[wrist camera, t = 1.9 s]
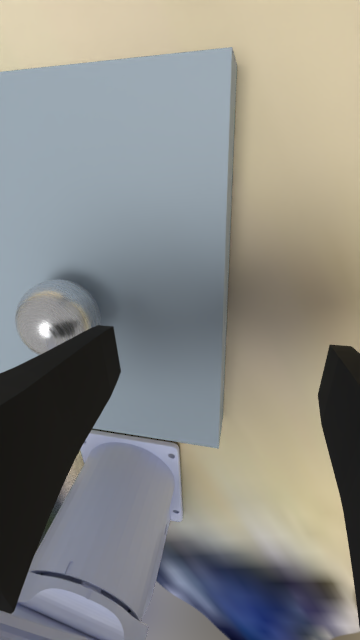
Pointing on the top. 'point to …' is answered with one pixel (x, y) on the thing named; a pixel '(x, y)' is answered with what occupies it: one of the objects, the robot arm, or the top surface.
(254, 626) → the top surface
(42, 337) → the ball
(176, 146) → the deck
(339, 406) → the robot arm
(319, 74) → the top surface
